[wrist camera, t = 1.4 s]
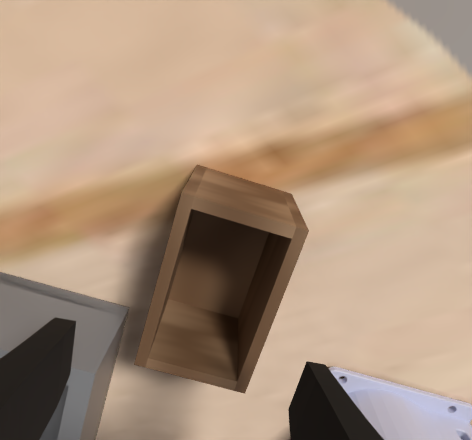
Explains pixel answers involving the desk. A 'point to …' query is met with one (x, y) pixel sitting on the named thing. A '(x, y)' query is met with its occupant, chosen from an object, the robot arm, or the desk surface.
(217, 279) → the small crate
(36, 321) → the big crate
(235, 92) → the desk surface
